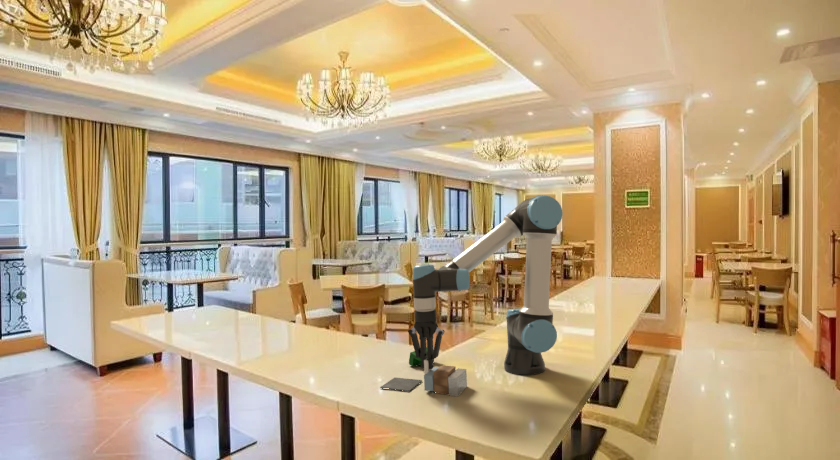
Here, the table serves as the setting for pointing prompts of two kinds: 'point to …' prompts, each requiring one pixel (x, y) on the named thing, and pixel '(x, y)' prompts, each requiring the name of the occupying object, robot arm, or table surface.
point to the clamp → (416, 359)
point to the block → (442, 378)
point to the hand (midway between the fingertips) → (428, 378)
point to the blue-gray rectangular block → (429, 380)
